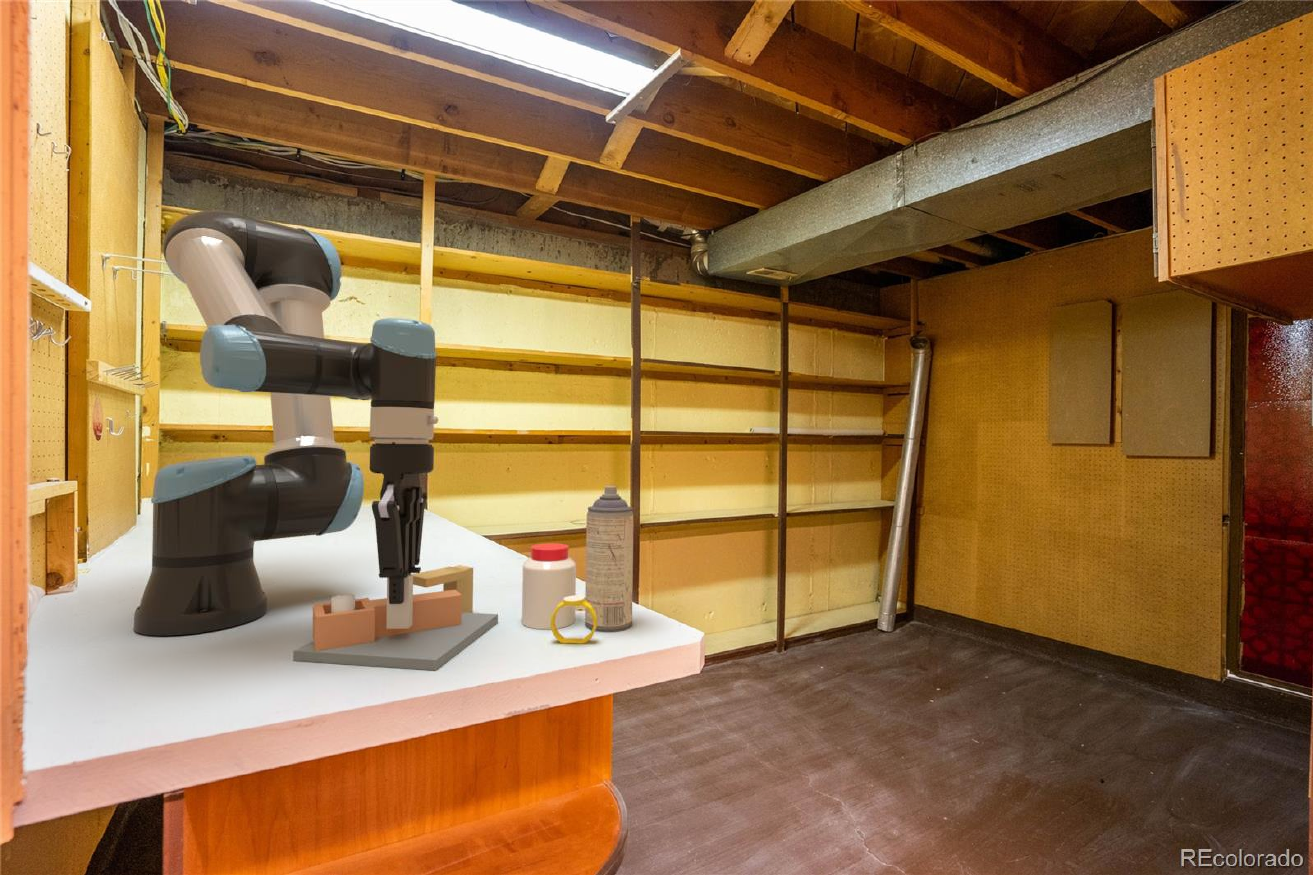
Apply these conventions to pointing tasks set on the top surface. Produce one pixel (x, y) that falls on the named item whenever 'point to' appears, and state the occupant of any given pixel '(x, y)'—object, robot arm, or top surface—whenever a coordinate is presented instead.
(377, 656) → the board
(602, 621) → the aerosol can
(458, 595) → the link
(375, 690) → the top surface
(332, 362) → the robot arm
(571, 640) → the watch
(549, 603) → the pill bottle
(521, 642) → the top surface
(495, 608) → the top surface
